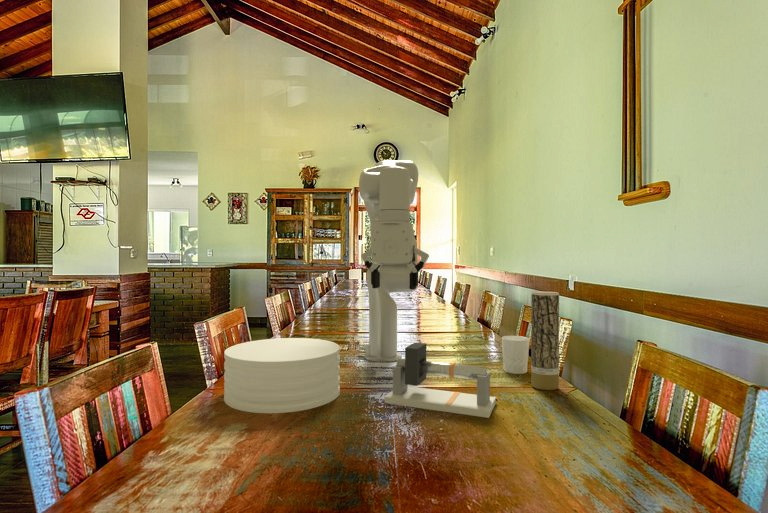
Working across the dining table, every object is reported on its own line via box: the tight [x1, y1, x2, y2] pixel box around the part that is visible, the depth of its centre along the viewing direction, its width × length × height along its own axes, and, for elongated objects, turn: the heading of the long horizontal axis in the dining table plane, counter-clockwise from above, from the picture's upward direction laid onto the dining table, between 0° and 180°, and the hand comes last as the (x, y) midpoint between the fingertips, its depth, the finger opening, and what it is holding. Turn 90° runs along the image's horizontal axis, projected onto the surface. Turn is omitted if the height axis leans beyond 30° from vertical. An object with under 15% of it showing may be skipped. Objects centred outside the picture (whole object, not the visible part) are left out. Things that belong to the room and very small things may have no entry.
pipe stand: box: [384, 364, 497, 419], centre depth 103 cm, size 24×10×8 cm, turn 67°
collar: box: [404, 342, 427, 387], centre depth 105 cm, size 3×7×8 cm, turn 157°
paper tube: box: [530, 290, 560, 391], centre depth 116 cm, size 7×7×25 cm
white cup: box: [501, 335, 530, 375], centre depth 132 cm, size 8×8×10 cm
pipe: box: [395, 358, 488, 381], centre depth 103 cm, size 21×3×3 cm, turn 67°
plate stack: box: [223, 337, 341, 414], centre depth 110 cm, size 28×28×12 cm
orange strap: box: [445, 362, 461, 406], centre depth 102 cm, size 1×10×8 cm, turn 157°
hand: (394, 288), depth 108 cm, fingers open, 9 cm apart
